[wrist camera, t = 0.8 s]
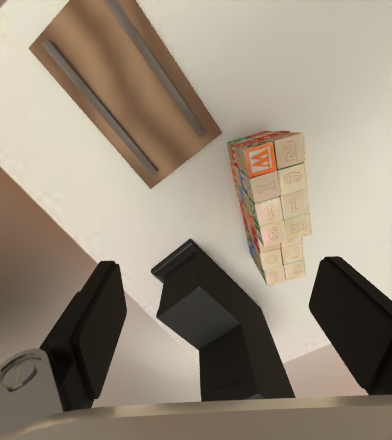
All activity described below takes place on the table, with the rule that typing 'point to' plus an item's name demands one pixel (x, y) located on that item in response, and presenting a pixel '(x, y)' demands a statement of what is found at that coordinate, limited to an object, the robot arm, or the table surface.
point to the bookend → (220, 328)
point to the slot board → (126, 84)
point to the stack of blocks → (273, 200)
